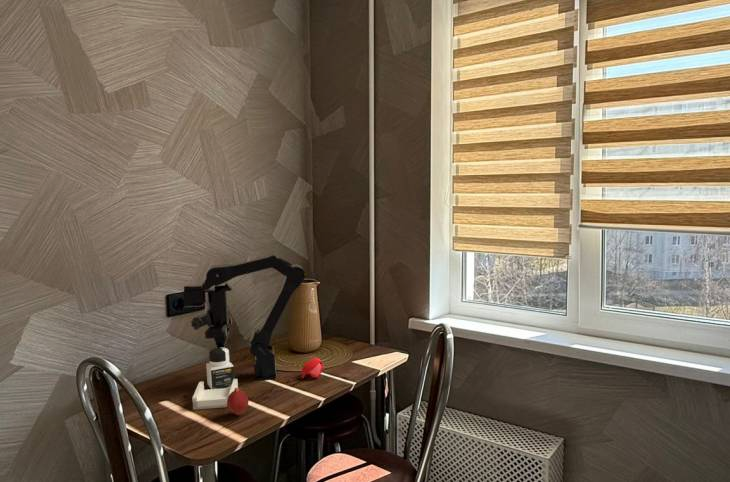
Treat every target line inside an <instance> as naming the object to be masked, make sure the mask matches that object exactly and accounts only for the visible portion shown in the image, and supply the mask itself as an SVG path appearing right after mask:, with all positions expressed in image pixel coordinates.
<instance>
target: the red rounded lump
mask: <svg viewBox="0 0 730 482" xmlns="http://www.w3.org/2000/svg"><path fill="white" fill-rule="evenodd" d="M248 406H249V397H248V395H247V394H246V392H245V391H243V390H241V389H240V388H239V387H238V388H235V389H234V391H233V392H232V393H231V394H230V395H229V396H228V399H227V407H226V408H228V410H229V411H230V412H231V413H233V414H234V415H236V416H240V415H242V414H243V413H244V412H245V411H246V410H247V408H248Z"/></svg>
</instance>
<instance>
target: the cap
mask: <svg viewBox="0 0 730 482" xmlns="http://www.w3.org/2000/svg"><path fill="white" fill-rule="evenodd" d="M323 370H324V363H323V361H322V360H321V359H320V358H318V357H314V358H311V359H309V360H308V361H307V362H305V364H304V365H303V366H302V369H301V373H302V374H301V379H304V378H305V377H306V375H310V376H311V377H313V378H315V379H317V380H318V379H319V378H320V376H321V374H322V372H323Z"/></svg>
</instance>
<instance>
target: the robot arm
mask: <svg viewBox="0 0 730 482" xmlns="http://www.w3.org/2000/svg"><path fill="white" fill-rule="evenodd" d="M267 269H274V270H275V271H277V272H278V273H280V274H282V275H283V276H284V278H283V281H282V284H281V289H280V291H279V292H278V294H277V296H276V298H275V300H274V301H273V304H272V305H271V307H270V309H269V312H268V314H267V316H266V318H265V319H264V321H263V323H262V325H261V326H260V327H259V328H257V327H254V328H253V332H252V334H251V336H249V338H248V339H249V341H248V342H249V343H248V344H249V352H250V354H251V355H252V356H254V357H255V361H254V362H253V363H254V364H253V368H254V369H253V370H254V377H255V380H257V381H258V380H270V379H271V380H273V379H277V373H278V372H277V366H276V365H277V364H276V355H275V349H274V347H273V346H272V345H271V344H270V343H271V340H272V337H273V332H274V330H275V329H276V326H277V324H278V323H279V320H280V319H281V316H282V314H283V313H284V311H285V309H286V307H287V306H288V305H287V304H288V303H289V301H290V299H291V297H292V295H293V294H294V293H295V292H296V291H297V289H299V287H300V286H301V285H302V284H303V282H304V281H305V279H306V273H305V270H304V269H303V267H302V266H301V265H300V264H298V263H293V264H292V263H290V262H289V261H287V260H285V259H284V258H281V257H279V256H278V255H277V254H274V253H272V254H269V255H267V256H263V257H258V258H255V259H249V260H246V261H242V262H239V263H234V264H233V263H232V264H229V263H227V264H226V263H225V264H223V263H222V264H214V265H211V266H210V267H209V268H208V270H207V272H206V275H205V276H206V278H205V280H204V281H202V284H200V285H199V284H198V285H197V284H196V285H184V286H183V296H182V297H183V299H182V300H183V307H184V308H193V307H194V308H195V307H203V306H204V304H206V303H207V301H208V309H207V310H206V312H204V313H202V314H199V315H196V316H194V317H193V318H192V319H191V320H190V323H191V325H190V326H191V327H192V328H193V329H194V331H197V330H199V329H200V328H202V327H206V326H207V328H206V330H205V332H204V336H205V337H204V338H205V339H206V340H207V339H214V341H215V344H216V346H217V347H216V348H220V347H222V348H225V346H226V342H227V341H228V340H227V339H228V337H229V334H230V330H231V328H230V327H227V325H228V324H229V325H232V324H233V317H232V316H231V315H230V314H228V311H229V305H228V301H227V300H228V299H227V292H231V291H232V290H233V286H231V285H230V284H228V281H229V282H230V281H231V280H232V279H234V278H237V277H241V276H243V275H247V274H252V273H255V272H256V273H257V272H259V271H264V270H267ZM222 284H223V285H222ZM212 287H214V288H212Z"/></svg>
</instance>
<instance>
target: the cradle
mask: <svg viewBox="0 0 730 482" xmlns="http://www.w3.org/2000/svg"><path fill="white" fill-rule="evenodd" d="M204 384H205V383H204V381H199V382H198V384H197V387H196V388H195V391H194V394H193V395H192V410H195V411H196V410H197V411H198V410H206V409H218V408H219V409H221V408H222V409H223V408H228V407H227V399H228V396H229V395H230V394H231V393H232V392H233V391H234V389H235V388H239V386H238V385H239V382H238V378H234V379H233V382H232V386H231V388H222V389H211V388H210V389H205V385H204Z"/></svg>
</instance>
